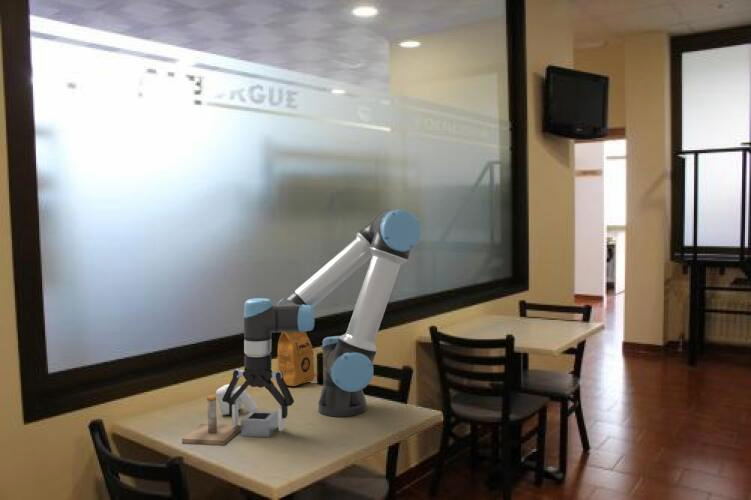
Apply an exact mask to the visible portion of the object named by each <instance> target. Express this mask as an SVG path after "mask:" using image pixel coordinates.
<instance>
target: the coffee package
mask: <svg viewBox="0 0 751 500" xmlns="http://www.w3.org/2000/svg"><path fill="white" fill-rule="evenodd" d="M280 333H281V334H280V335H279V339H278V342H277V372H279V371H282V372H283V379H284V381H285V383H286V385H287V387H288V386H289V387H296V386H299V385H304V384H307V383H310V382H312V381H313V380H314V378H315V368H314V366H315V365H314V350H313V345H312V343H311V340H310V338H309V336H308V334H307V331H304V332H280Z"/></svg>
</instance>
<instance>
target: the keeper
mask: <svg viewBox="0 0 751 500" xmlns="http://www.w3.org/2000/svg"><path fill="white" fill-rule="evenodd" d="M206 409H207V423H201V424H199V425H198V426H197V427H196V428H194V429H193V430H191V431H190V432H189V433H188V434H186V435H185V436H184V437H183V438H181V439H182V441H181V442H182V444H194V445H195V444H196V445H198V444H199V445H216V446H226V444H227V443H229V442H230V440H232V439H233V437H235V436H236V435H237V434H238V433H239V432H241V424H238V425H237V426H236V427H235V428H233V427H232V424H223V423H222V424H219V423H217V422H218V421H217V420H218V419H217V396H216V394H213V395H212V394H211V395H207V396H206Z"/></svg>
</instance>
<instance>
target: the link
mask: <svg viewBox="0 0 751 500" xmlns="http://www.w3.org/2000/svg"><path fill="white" fill-rule="evenodd" d="M240 425H241V430H240V436H241V437H255V438H270V437H271V436H272V435H273V434H274V432H275V431H276V430H277V429H279V411H263V410H262V411H261V410H255V411H251V412H249V411H248V413H247V414H246V415H245V416H244V417H243V418H242V419H240Z"/></svg>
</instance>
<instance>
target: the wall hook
mask: <svg viewBox="0 0 751 500" xmlns="http://www.w3.org/2000/svg"><path fill="white" fill-rule="evenodd" d="M229 384H230V383H226V384H224V385H223V386H221V387H219V388H218V389H216V392H215V396H216V400H217V403H218V406H219V411H220V414H221V415H222V416H229V415H230V414H229V403H227V402H223V401H222V399H223V397H224V395H225V393H226V391H227V388H228V386H229ZM241 386H242V385H238V383H237V384H236V386H235V388H234V390H233V392H232V394H231V396H230V397H232V396H233V395H234V394H235V393H236V392H237V391H238V390H239V388H240V387H241ZM235 402H238V411H239V410H240V409H242V407H243V406H244V407H245V408H246V410H247V412H248V413H249V412H251V411H257V410H258V409H259V407H258V405H257V403H256V402H255V401H254V399H253V398H252V396H251V395H250V394H249V393H248V392H247V390H246V389H245V390H244V391H243V393H242V394H241V395H240V396H239V397H238V398H237V399H236V401H235Z"/></svg>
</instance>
